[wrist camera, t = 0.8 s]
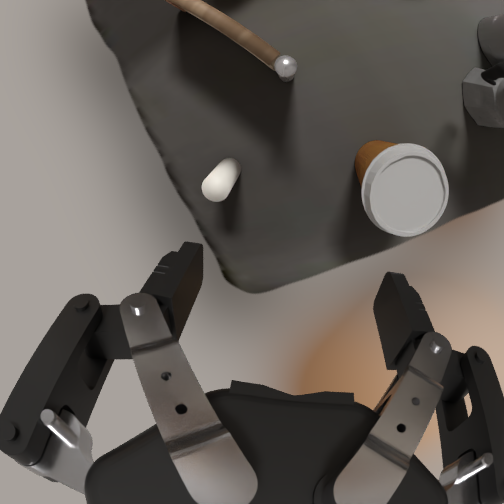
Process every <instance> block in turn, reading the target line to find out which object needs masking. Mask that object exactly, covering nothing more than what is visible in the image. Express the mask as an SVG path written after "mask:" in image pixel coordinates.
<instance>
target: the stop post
mask: <svg viewBox="0 0 504 504" xmlns="http://www.w3.org/2000/svg"><path fill="white" fill-rule="evenodd" d="M240 173H241V165H240V163H239V162H238V161H237V160H236V159H233V158H225V159H223V160H222V161H221V162H220V163H219V164H218V165H217V166H216V168H215V169H214V170H213V171H212V172H211V173H210V174H209V175H208V176H207V177H206V179H205V180H204V181H203V183H202V192H203V194H204V196H205V197H206V198H207V199H209V200H211V201H214V202H219V201H222V200H224V199H225V198H226V197H227V196H228V194H229V192H230V191H231V189H232V187H233V185H234V184H235V182H236V180H237V178H238V177H239V175H240Z"/></svg>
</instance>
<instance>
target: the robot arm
mask: <svg viewBox="0 0 504 504" xmlns="http://www.w3.org/2000/svg"><path fill="white" fill-rule="evenodd" d="M478 38H479V42H480V46H481V48H482V50H483V53H484V54H485V56H486V58H487V59H488V61H489V62H490V63H491V65H492V66H495V65H496V64H498V63H500V62H504V14H501V15H496V16H491V17H486V18H483V19H482V20H481V21H480V23H479V26H478ZM202 280H203V245H202V244H199V243H192V242H184V243H183V245H182V247H181V248H180V250H179V251H178V252H174V251H171V252H170V253H168V254H167V255H165V256H164V257H163V258H162V259H161V260H160V262H159V263H158V266H156V268H155V269H154V272H152V274H151V275H150V277H149V278H148V280H147V281H146V283H145V284H144V286H143V288H142V289H141V291H140V292H139V293H135V294H131V295H129V296H127V297H126V298H125V299H123V301H122V302H121V304H120V305H100V303H99V300H98V299H97V297H96V296H94V295H92V294H80V295H77V296H75V297H73V298H72V299H71V300H70V301H69V302H68V303H67V304H66V306H65V307H64V309H63V310H62V311H61V313H60V314H59V316H58V317H57V319H56V320H55V322H54V323H53V325H52V326H51V327H50V329H49V331H48V332H47V334H46V335H45V337H44V338H43V340H42V341H41V343H40V344H39V346H38V348H37V349H36V351H35V352H34V354H33V356H32V357H31V359H30V361H29V362H28V364H27V366H26V367H25V369H24V371H23V373H22V374H21V376H20V378H19V380H18V381H17V383H16V385H15V387H14V389H13V391H12V392H11V394H10V396H9V398H8V400H7V402H6V404H5V406H4V408H3V410H2V412H1V414H0V450H1V451H2V452H4V453H5V454H7V455H8V456H10V457H11V458H13V459H14V460H15V461H16V462H17V463H19V464H20V465H22V466H23V467H25V468H27V469H29V470H30V471H32V472H34V473H35V474H37V475H39V476H42V477H44V478H46V479H48V480H50V481H52V482H60V483H62V484H64V485H66V486H68V487H70V488H72V489H74V490H76V491H79V492H81V493H83V494H85V497H86V501H87V504H502V503H504V397H503V393H502V390H501V387H500V384H499V381H498V378H497V375H496V372H495V370H494V367H493V364H492V362H491V359H490V357H489V355H488V354H487V352H486V351H485V350H483V349H482V348H480V347H477V346H472V347H470V348H469V349H468V350H467V352H466V353H465V354H464V353H461V352H458V351H455V350H452V348H451V345H450V343H449V341H448V340H447V339H446V338H445V337H444V336H443V335H441V334H440V333H437V332H435V331H434V328H433V326H432V323H431V321H430V318H429V316H428V314H427V312H426V311H425V307H424V305H423V304H422V300H421V298H420V296H419V294H418V293H417V292H416V290H415V289H414V288H413V287H412V286H409V284H408V282H407V280H406V278H405V276H404V274H401V273H394V272H387V273H386V274H385V276H384V279H383V281H382V284H381V286H380V288H379V291H378V293H377V295H376V298H375V300H374V306H373V310H374V315H375V319H376V323H377V327H378V331H379V336H380V340H381V344H382V349H383V353H384V358H385V362H386V367H387V370H397V373H398V374H397V375H396V376H395V378H394V379H393V381H392V382H391V384H390V386H389V387H388V389H387V390H386V392H385V394H384V395H383V397H382V398H381V400H380V401H379V403H378V404H377V406H376V407H375V408H374V410H371V409H370V408H368V407H366V406H364V405H362V404H360V403H357V402H354V393H345V392H326V391H325V392H318V393H312V394H305V395H296V396H294V395H290V394H287V393H284V392H281V391H278V390H276V389H273V388H269V387H267V386H264V385H260V384H252V383H246V382H240V381H234V380H232V382H231V387H230V388H228V389H219V390H214V391H210V392H207V393H204V392H203V390H202V388H201V386H200V384H199V382H198V380H197V378H196V376H195V374H194V372H193V371H192V369H191V367H190V365H189V363H188V361H187V358H186V356H185V354H184V352H183V350H182V348H181V346H180V344H179V342H178V341H179V338H180V336H181V333H182V331H183V329H184V326H185V324H186V321H187V319H188V317H189V314H190V312H191V309H192V307H193V305H194V302H195V300H196V298H197V295H198V293H199V290H200V288H201V285H202ZM114 359H133V361H134V363H135V367H136V370H137V373H138V376H139V379H140V381H141V384H142V387H143V390H144V393H145V396H146V398H147V401H148V404H149V406H150V409H151V411H152V414H153V416H154V419H155V421H156V424H155V425H154V426H152V427H150V428H149V429H147V430H146V431H144V432H142V433H140V434H139V435H137V436H136V437H134V438H132V439H130V440H129V441H127V442H126V443H124V444H122V445H120V446H119V447H117V448H115V449H113V450H112V451H110V452H108V453H106V454H104V455H103V456H101V457H100V458H98V459H97V460H96V461H95V462H94V461H93V459H92V454H91V450H92V437H91V434H90V433H89V431H88V430H87V429H86V425H87V423H88V421H89V418H90V415H91V413H92V410H93V408H94V406H95V403H96V401H97V398H98V396H99V394H100V391H101V389H102V386H103V384H104V382H105V380H106V377H107V375H108V373H109V371H110V368H111V366H112V364H113V362H114ZM468 393H469V395H470V399H471V403H472V412H471V415H470V416H469V417H468V414H467V409H466V405H465V401H464V397H465V396H466V395H467V394H468ZM435 408H436V414H437V419H438V426H439V433H440V441H441V449H442V459H443V470H442V472H441V475H440V478H439V480H437V479H436V478H435V477H434V475H433V474H431V473H430V471H429V470H428V469H427V468H426V467H425V466H424V465H423V464H422V463H421V461H420V460H419V459H418V458H417V457H416V456H415V455H414V454H413V453H414V452H415V450H416V448H417V446H418V444H419V442H420V440H421V438H422V436H423V434H424V432H425V430H426V428H427V425H428V424H429V422H430V420H431V417H432V415H433V413H434V410H435Z"/></svg>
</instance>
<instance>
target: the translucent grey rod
mask: <svg viewBox="0 0 504 504" xmlns="http://www.w3.org/2000/svg"><path fill="white" fill-rule="evenodd" d="M274 67H275V70H276V72H277V74H278V76H279V78H280V79H281V80H282V81H284V82H290V81H291V80H292V79H293V78H294V75H295V72H296V69H297V63H296V61H295V60H294V59H293V58H292V57H290V56H281V57H279V58H277V60H276V61H275V64H274Z"/></svg>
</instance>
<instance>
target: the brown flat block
mask: <svg viewBox="0 0 504 504" xmlns="http://www.w3.org/2000/svg"><path fill="white" fill-rule="evenodd" d="M165 1H167V2H168V3H170V4H172V5H173V6H175V7H177V8H178V9H180V10H182V11H184V12H186V11H187V12H189V13H190V14H192V15H194V16H195V17H197V18H199V19H200V20H202V21H204V22H205V23H207V24H209V25H210V26H212V27H213V28H215V29H216V30H218V31H220V32H221V33H223V34H224V35H226V36H227V37H229V38H230V39H232V40H233V41H234V42H236V43H237V44H239V45H240V46H242V47H243V48H244V49H246V50H247V51H249V52H250V53H251V54H253V55H254V56H255V57H257V58H258V59H259V60H261V61H262V62H263V63H265V64H266V65H267V66H269V67H270V68H271V69H272V70H274V71H275V67H274V64H275V61H276V60H277V58H279V55H280V54H281V53H280V52H278V51H277V50H276V49H274V48H273V47H272V46H270V45H269V44H268V43H266V42H265V41H264V40H262V39H261V38H260V37H258V36H257V35H255V34H254V33H252V32H251V31H250V30H248V29H247V28H245V27H244V26H242V25H241V24H239V23H238V22H236V21H235V20H233V19H231V18H230V17H228V16H227V15H225V14H224V13H222V12H220V11H219V10H217V9H215V8H214V7H212V6H210V5H208V4H207V3H205V2H203V1H201V0H165Z"/></svg>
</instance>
